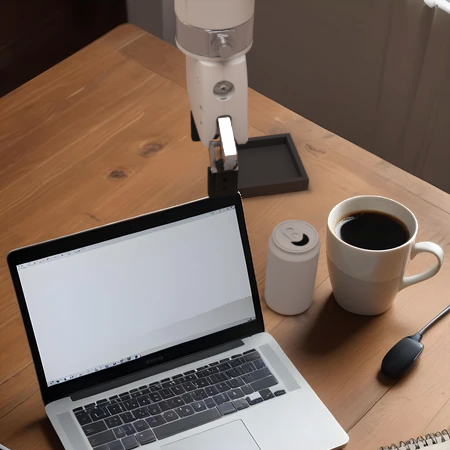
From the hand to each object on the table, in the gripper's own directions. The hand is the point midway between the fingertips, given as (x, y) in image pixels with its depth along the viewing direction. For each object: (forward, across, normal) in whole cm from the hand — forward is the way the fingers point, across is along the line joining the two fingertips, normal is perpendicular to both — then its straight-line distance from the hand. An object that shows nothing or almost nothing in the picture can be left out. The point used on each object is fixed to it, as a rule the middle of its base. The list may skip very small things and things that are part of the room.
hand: (213, 166), depth 93 cm
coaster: (+22, +24, -13) cm, 35 cm away
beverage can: (+22, -2, -10) cm, 25 cm away
